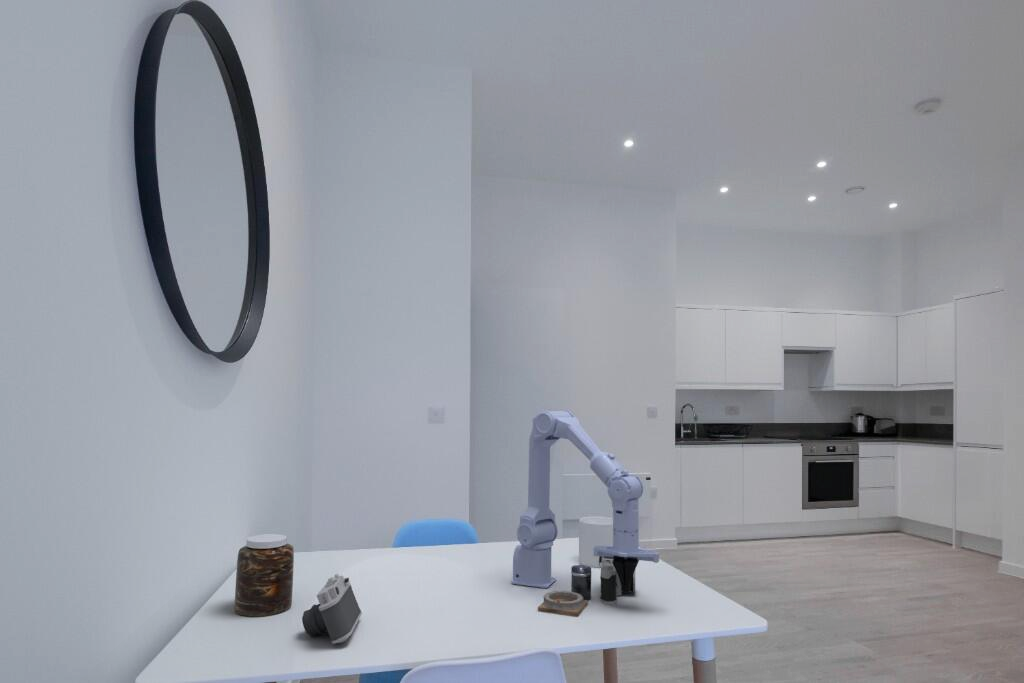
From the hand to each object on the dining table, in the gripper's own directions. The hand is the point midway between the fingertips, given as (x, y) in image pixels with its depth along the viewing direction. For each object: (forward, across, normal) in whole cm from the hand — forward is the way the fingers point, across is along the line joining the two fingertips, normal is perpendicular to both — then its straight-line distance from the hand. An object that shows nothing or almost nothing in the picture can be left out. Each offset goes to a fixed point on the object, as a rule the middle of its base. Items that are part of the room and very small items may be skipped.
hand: (626, 591), depth 137 cm
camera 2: (+4, -4, +9) cm, 10 cm away
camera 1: (+4, -51, -38) cm, 64 cm away
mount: (+3, -13, -6) cm, 15 cm away
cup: (+4, -14, +36) cm, 39 cm away
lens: (+3, -11, +2) cm, 12 cm away
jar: (+4, -73, -32) cm, 80 cm away
